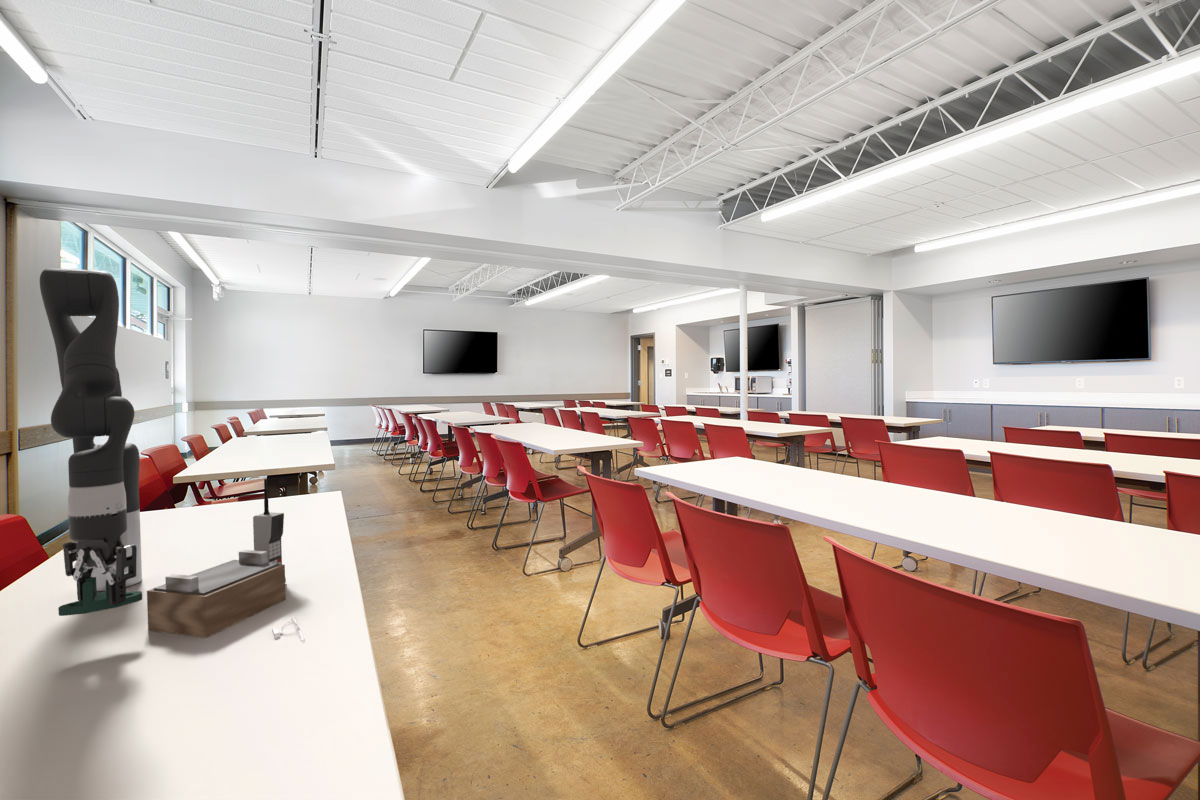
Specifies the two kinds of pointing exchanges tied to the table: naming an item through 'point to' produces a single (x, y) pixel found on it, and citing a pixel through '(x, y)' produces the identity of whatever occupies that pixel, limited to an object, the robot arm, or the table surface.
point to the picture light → (278, 633)
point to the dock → (216, 596)
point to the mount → (95, 600)
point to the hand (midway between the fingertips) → (101, 601)
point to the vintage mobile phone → (268, 532)
